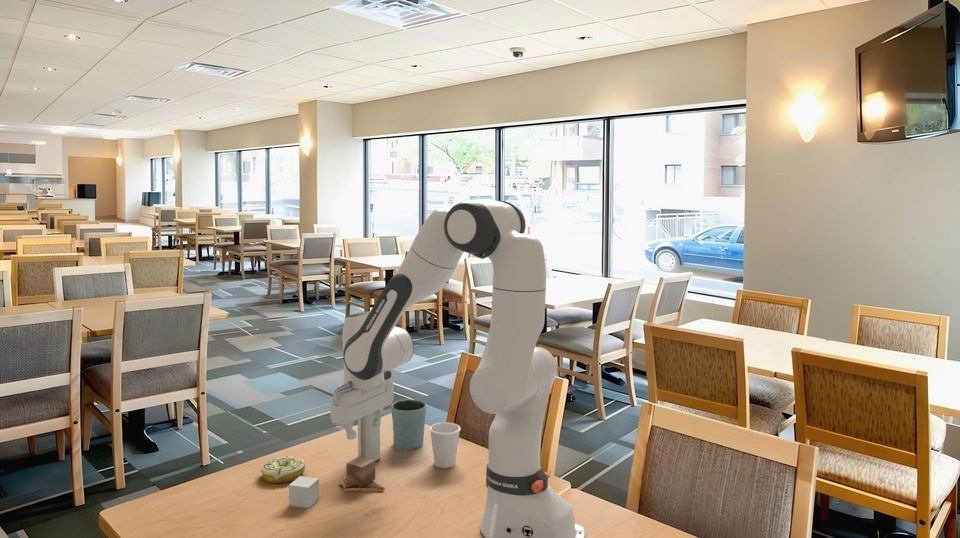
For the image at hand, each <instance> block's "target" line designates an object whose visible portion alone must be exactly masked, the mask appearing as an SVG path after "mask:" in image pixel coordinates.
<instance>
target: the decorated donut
mask: <svg viewBox="0 0 960 538" xmlns="http://www.w3.org/2000/svg"><path fill="white" fill-rule="evenodd" d="M305 463H306V461H304V459H302V458H300V457H296V456H292V455H284V456H283V455H282V456H278V457H275V458H273V459H270V460H268V461H267V462H266V463H265V464H264V465H263V466H262V467H261V469H260V472H261V474H262V478H263V480H264V481H265V482H266V483H268V484H269V483H270V484H283V483H287V482H291V481H292V482H293V481H294V480H296V479H297V478H298V477H299V476H302V475H303V474H304V472H305V469H306V464H305Z"/></svg>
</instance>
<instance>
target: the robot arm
mask: <svg viewBox="0 0 960 538" xmlns="http://www.w3.org/2000/svg"><path fill="white" fill-rule="evenodd" d="M525 232H526V218H525V216H524V214H523V212H522V210H520V209H519V207H517V206H516V205H514V204H513V203H511V202H509V201H504V200H493V199H490V198H480V199H467V200H463V201H461V202H458V203H457V204H455V205H453V206H452V207H451V208H448V207H439V208H437V209H435V210H433V211H432V212H431V213H430V215H429V216H428V217H426V219H425V221H424V222H423V224H422V225H421V227H420V229H419V230H418V232H417V234H416V236H415V237H414V239H413V242H412V244H411V246H410V248H409V250H408V252H407V254H406V256H405V257H404V259H403V261H401V262H402V263H401V264H400V266H399V268H398V269H397V270H396V271H395V273H394V274H393V276H392V277H391V278H390V280H389V281H388V282H387V284H386V285H385V286H384V287H383V289H382V290H381V292H380V294H379V296H378V297H377V299H376V301H375V302H374V304H373V306H372V308H371V309H370V311H361V312H356V313H353V314H349V315H347V316H346V317H345V319H344V321H343V325H342V351H343V354H342V356H343V365H342V366H343V382H344V383H343V384H341V385H340V384H339V385H338V386H337V387H336V389H334V392H333V393H332V398H331V403H330V404H331V406H330V422H331V423H332V425H334V426H339V427H343V429H344V430H345V432H346V438H347V440H351V441H352V440H354V439H356V438H357V431H356V430H354V429H353V427H354V422H355V421H356V422H357V421H358V419H360V418H362V417H364V416H367V415H369V414H371V413H373V412H375V414H374V418H373V420H371V423H372V427H375V428H376V427H378V426H380V427H381V419H382V416H383V413H384V408H386V407H389V406H391V405H392V404H393V401H394V395H395V394H394V393H395V391H394V390H395V389H394V381H393V377H394V371H393V369H396V368H398V367H401V366H403V365H405V364H407V363H408V362H409V361H411V359H412V357H413V355H414V352H415V350H414V348H415V347H414V340H413V338H412V336H411V334H410V333H409V331H407V330H406V329H405V328H403V327H399V326H396V325H397V323H398V322H399V320H400V318H401V317H402V316H403V315H404V313H405V312H406V311H407V310H408V309H409V308H411V307H412V306H414V305H416V304H417V303H418V302H421V301H422V300H424V299H427V298H428V297H431V296H432V295H435V294H437V293H439V292H440V291H441V290H442V289H443V288H444V287H445V286H446V284H447V283H448V282H449V280H450V279H451V278H452V276H453V274H454V272H455V270H456V268H457V266H458V263H459V262H460V259H461V257H462V256H463V254H464V253H466V254H469V255H472V256H475V257H476V258H478V259H481V260H482V259H483V260H484V259H486V258H488V259H489V260H490V262H491V265H492V272H493V273H492V274H493V275H492V293H491V294H492V295H491V316H490V326H489V331H488V333H487V338H486V342H485V345H484V349H483V351H482V356H481V358H480V361H479V364H478V365H477V367H476V369H475V371H474V373H473V374H472V376H471V377H470V382H469V393H470V397H471V399H472V400H473V402H474V404H475V406H476V407H478V409H480V410H481V411H483V412H484V413H486V414H492V415H493V414H495V416H494V418H493V420H492V423H491V424H490V427H489V431H488V463H487V464H486V470H485V471H486V472H485V478H486V479H485V480H486V481H485V484H486V485H485V486H486V487H485V488H486V489H487V491H486V500H485V506H484V512H483V516H482V518H481V523H480V525H479V530H480V532H481V534H482V536H484V538H586V531H585V528H584V527H583V526H582V525H579V524H577V523H576V521H575V516H574V511H573V508H572V506H571V505H570V503H568V502H567V501H566V500H565V499H564V498H563V497H562V496H560V494H558V493H557V492H556V491H555V490H554V489H553V488H552V487H551V486H550V485H549V478H551V475H552V474H551V473H552V471H551V470H548V472H547V473H546V472H545V471H544V469H543V468H542V465H541V446H542V443H541V442H542V441H541V440H542V430H543V426H544V425H543V423H544V419H545V415H546V410H547V407H548V402H549V397H550V393H551V389H552V386H553V384H554V382H555V380H556V379H557V375H558V364H557V361H556V359H555V357H554V356H553V355H552V353H551V352H550V351H549V350H547V349H545V348H544V347H541V346H536V345H537V343H538V340H539V337H540V335H541V333H542V331H543V329H544V327H545V326H544V325H545V321H546V319H545V318H546V316H545V315H546V296H547V295H546V293H547V269H546V267H547V266H546V259H545V252H544V247H543V243H541V241H540V240H539V239H538V238H536V237H534V236H533V235H531V234H527V233H525Z"/></svg>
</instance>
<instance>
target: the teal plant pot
mask: <svg viewBox="0 0 960 538" xmlns="http://www.w3.org/2000/svg"><path fill="white" fill-rule="evenodd" d="M390 408H391V418H392V431H393V432H392V434H393V437H392V438H393V439H392V440H393V442H392V443H393V447H395V449H398V450H401V451H413V450H418V449H421V448H422V447H423V445H424V438H425V437H424V435H425V425H426V413H427V402H425V401H423V400H419V399H415V398H414V399H412V398H411V399H410V398H409V399H400V400H396V401H394V402H392V404H391V405H390Z"/></svg>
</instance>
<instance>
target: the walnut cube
mask: <svg viewBox="0 0 960 538" xmlns="http://www.w3.org/2000/svg"><path fill="white" fill-rule="evenodd" d="M345 467H346V468H345V469H346V470H345V471H346V478H347V483H350V484H353V485H357V486H361V487H364V486H365V485H367V484H369V483H370V482H372V481H375V480H376V461H375V460H373V459H369V458H365V457H361V456H358V455H357V457H355V458H353V459H352V460H349V461H348V462H346V463H345Z"/></svg>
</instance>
